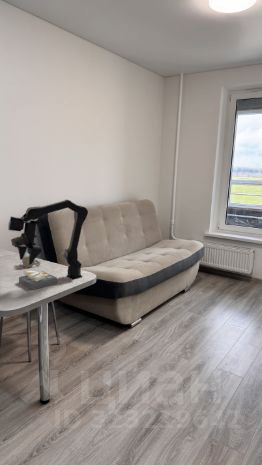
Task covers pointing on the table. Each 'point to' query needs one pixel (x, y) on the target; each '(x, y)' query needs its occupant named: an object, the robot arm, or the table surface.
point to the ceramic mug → (26, 261)
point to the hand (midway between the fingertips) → (25, 262)
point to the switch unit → (41, 283)
